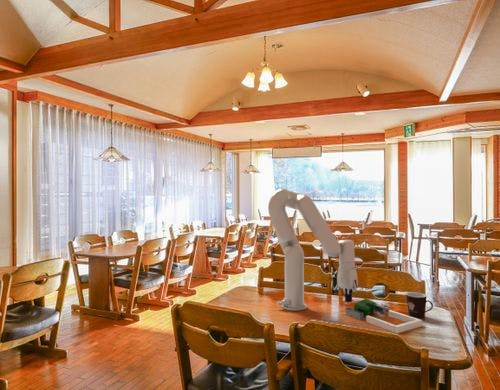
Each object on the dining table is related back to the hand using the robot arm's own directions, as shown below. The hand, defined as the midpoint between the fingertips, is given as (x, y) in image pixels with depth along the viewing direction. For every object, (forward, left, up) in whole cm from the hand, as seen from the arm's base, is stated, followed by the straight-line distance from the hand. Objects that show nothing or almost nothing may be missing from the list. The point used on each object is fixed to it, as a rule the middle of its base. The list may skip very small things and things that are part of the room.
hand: (348, 301), depth 181 cm
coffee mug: (+15, -28, -3) cm, 32 cm away
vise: (+2, -12, -3) cm, 12 cm away
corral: (-1, -27, -3) cm, 27 cm away
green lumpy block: (-1, -11, -3) cm, 12 cm away
